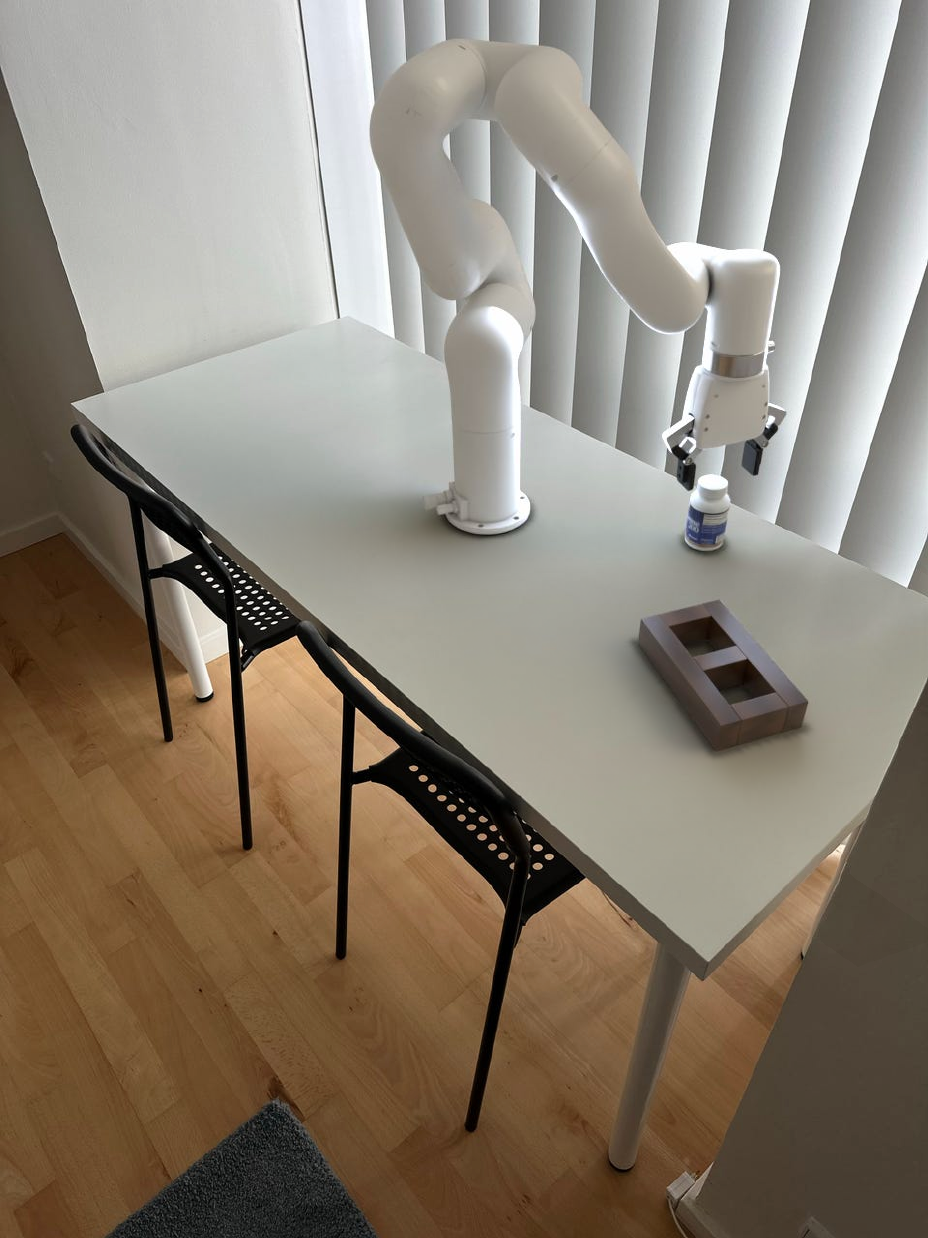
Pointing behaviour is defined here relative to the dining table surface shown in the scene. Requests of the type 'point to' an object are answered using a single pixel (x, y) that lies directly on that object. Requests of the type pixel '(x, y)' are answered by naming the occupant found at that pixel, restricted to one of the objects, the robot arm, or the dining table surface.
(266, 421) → the dining table surface
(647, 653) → the stand
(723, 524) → the pill bottle
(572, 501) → the dining table surface
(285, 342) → the dining table surface
